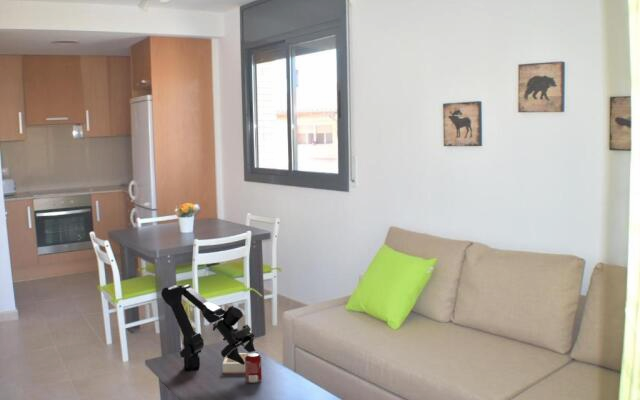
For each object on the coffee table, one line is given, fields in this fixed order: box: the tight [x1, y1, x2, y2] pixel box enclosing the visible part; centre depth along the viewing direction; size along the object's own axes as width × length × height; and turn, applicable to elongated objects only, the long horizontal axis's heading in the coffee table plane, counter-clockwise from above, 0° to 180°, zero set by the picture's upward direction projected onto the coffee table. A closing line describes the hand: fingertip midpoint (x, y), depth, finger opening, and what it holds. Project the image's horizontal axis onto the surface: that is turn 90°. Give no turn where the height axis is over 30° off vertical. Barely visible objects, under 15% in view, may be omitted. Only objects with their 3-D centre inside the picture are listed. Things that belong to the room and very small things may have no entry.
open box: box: [222, 352, 248, 374], centre depth 265 cm, size 12×12×4 cm
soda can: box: [245, 351, 263, 384], centre depth 250 cm, size 7×7×12 cm
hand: (250, 360), depth 250 cm, fingers open, 9 cm apart
